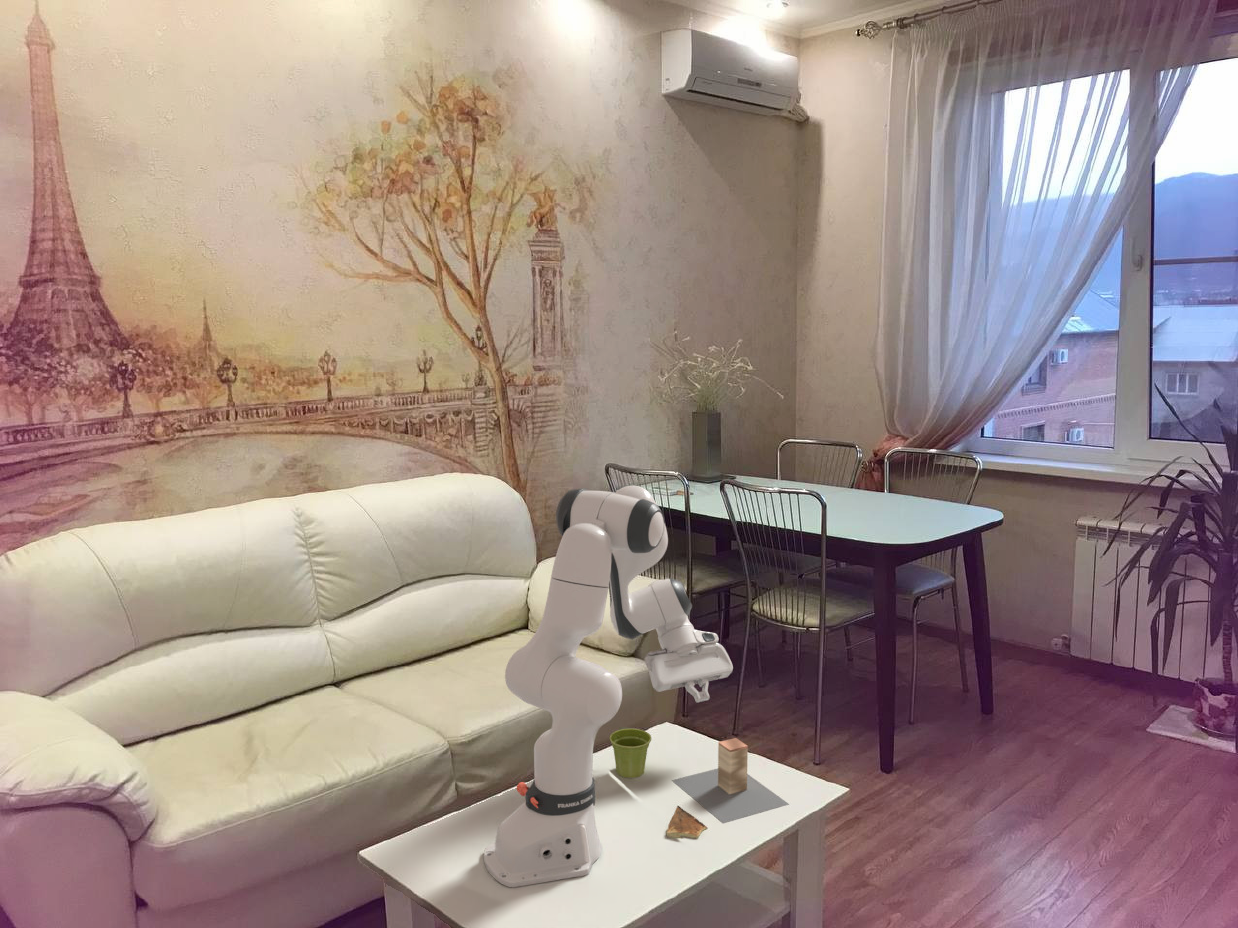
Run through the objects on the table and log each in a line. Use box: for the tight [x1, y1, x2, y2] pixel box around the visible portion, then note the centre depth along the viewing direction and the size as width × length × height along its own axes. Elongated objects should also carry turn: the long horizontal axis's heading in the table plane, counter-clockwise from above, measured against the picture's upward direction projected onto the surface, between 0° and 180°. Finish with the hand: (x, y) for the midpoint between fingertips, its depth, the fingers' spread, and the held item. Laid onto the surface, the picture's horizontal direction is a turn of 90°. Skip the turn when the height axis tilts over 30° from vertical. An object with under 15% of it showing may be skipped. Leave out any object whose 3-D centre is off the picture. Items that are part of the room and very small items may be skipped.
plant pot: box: [609, 728, 652, 779], centre depth 212 cm, size 9×9×9 cm
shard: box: [666, 805, 708, 840], centre depth 190 cm, size 11×8×2 cm
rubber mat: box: [671, 767, 790, 824], centre depth 203 cm, size 16×20×1 cm
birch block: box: [717, 737, 749, 794], centre depth 204 cm, size 4×4×10 cm
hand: (703, 700), depth 213 cm, fingers closed
